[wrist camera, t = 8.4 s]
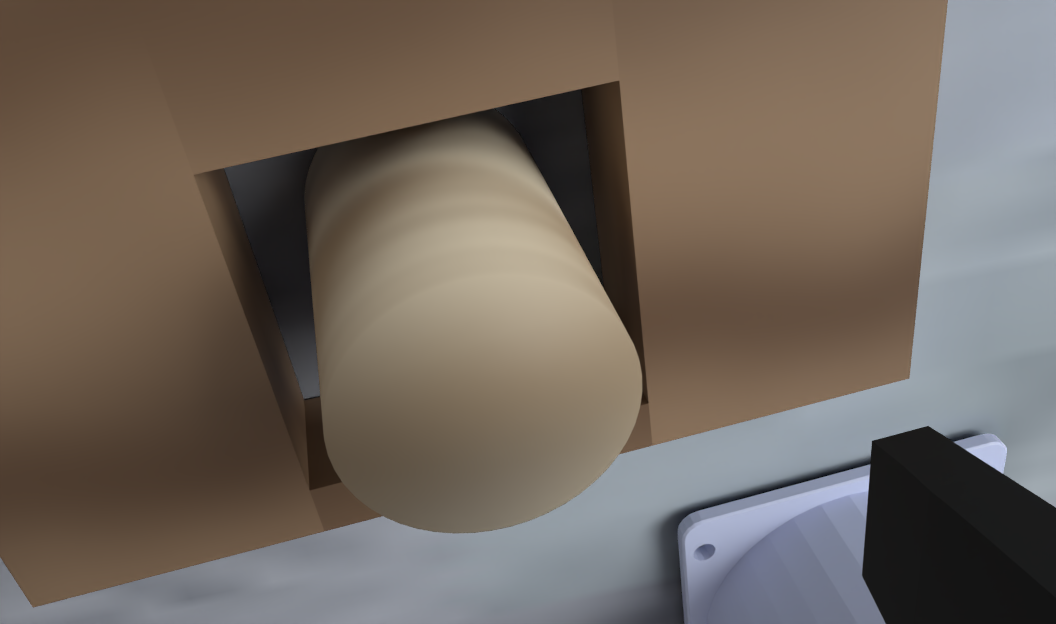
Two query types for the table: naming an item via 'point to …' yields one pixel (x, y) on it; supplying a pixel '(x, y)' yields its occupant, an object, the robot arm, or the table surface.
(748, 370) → the pocket board
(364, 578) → the table surface
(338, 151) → the birch peg
